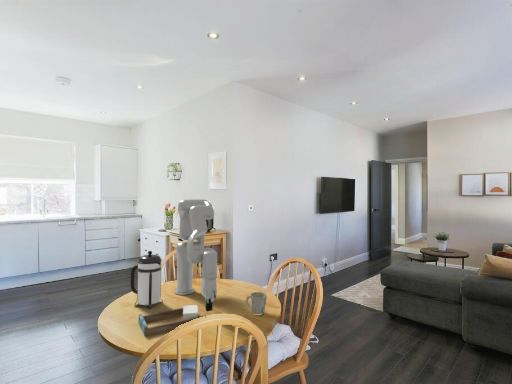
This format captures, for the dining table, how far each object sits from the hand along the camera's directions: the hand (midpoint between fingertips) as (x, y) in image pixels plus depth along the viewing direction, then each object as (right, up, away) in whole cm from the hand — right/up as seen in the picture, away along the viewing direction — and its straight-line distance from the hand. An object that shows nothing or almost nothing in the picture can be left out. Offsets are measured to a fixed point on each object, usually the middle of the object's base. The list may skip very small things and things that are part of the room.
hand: (208, 310), depth 148 cm
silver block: (-9, -2, -5) cm, 10 cm away
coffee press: (-37, -2, +12) cm, 39 cm away
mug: (+24, -3, +3) cm, 24 cm away
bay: (-16, -2, -10) cm, 19 cm away
